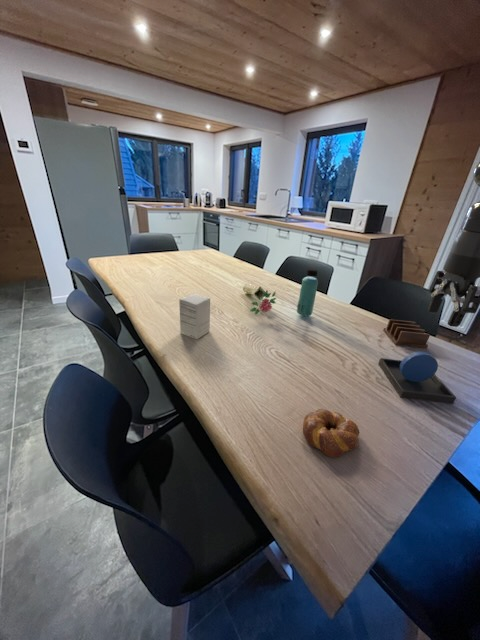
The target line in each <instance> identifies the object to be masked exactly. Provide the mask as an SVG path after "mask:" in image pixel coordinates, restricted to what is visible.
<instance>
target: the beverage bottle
mask: <svg viewBox="0 0 480 640" xmlns="http://www.w3.org/2000/svg"><path fill="white" fill-rule="evenodd" d="M305 275H307V276H305V277H303V278H302V280H301V285H300V286H301V287H300V289H299V290H300V291H299V298H298V302H297V306H296V307H297V308H296V313H297V314H298V315H300V316H303V317H310V316H312V315H313V312H314V310H313V309H314V307H315V301H316V295H317V290H318V286H319V285H318V284H319V280H318V279H317V278H316V277H317V276H318V270H317V269H315V268H307V269H306V273H305Z"/></svg>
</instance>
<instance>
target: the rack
mask: <svg viewBox="0 0 480 640" xmlns="http://www.w3.org/2000/svg"><path fill="white" fill-rule="evenodd" d="M383 332H384V334H386V336H387V337H388V338H389V339H390V340H391V342H392V343H393V344H394V345H395V346H404V347H412V348H422V349H428V347H429V345H428V344H427V343H428V341H429V338H430V336H431V334H430V333H426V330H425V329H423V328H421V326H420V325H417V322H416V321H410V320H401V319H391V318H390V319H389V320H388V322H387V325H386V327H384V328H383Z"/></svg>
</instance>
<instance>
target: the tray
mask: <svg viewBox="0 0 480 640" xmlns="http://www.w3.org/2000/svg"><path fill="white" fill-rule="evenodd" d="M401 361H402V360H401V359H400V360H399V359H391V358H382V357H380V358H379V360H378V365H379V367H380V369H381V370H382V372H383V373H384V375H385V376H386V378H387V379H388V381H389V383H390V384H391V385H392V387H393V388H394V390H395V392H396V393H397V394H398V396H399V397H400V398H402V399H410V400H419V401H426V402H434V403H435V402H436V403H443V404H451V405H453V404H454V403H455V401H456V400H457V396H456V395H455V394H454V393H453V392H452V391H451V390H450V389H449V388H448V387H447V386H446V385H445V384H444V383H443V382H442V380H441V379H440V378H439V376H437V375H436V373H435V374H434V375H433V376H432V377H431V378H429V379H427V380H425V381H421V382H412V381H409V380H407V379H405V378H404V376H403V375H402V374H401V372H400V363H401Z"/></svg>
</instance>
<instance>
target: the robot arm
mask: <svg viewBox="0 0 480 640" xmlns="http://www.w3.org/2000/svg"><path fill="white" fill-rule="evenodd" d="M473 181H474V183H475V184H476V185H477V186H479V187H480V161H479V162H478V163H477V165H476V167H475V168H474V171H473ZM442 269H443V270H437V271H436V272H435V275H434V277H433V279H432V281H431V283H430V286H429V288H428V293H430V294H431V295H430V296H431V300H430V302H429V304H428V308H427V311H428V312H430V313H437V312H439V310H440V307H441V305H442V303H443V301H444V300H443V298H445V297H446V296H447V295H448V296H449V297H450V298H451V302H452V303H453V309H454V310H453V311H452V313H451V314H450V317H449V319H448V321H447V325H448V326H450V327H452V328H453V327H455V328H457V327H459V326H461V323H462V322H463V320H464V318H465V317H466V316H465V315H466V314H476V313H477V311H478V310H479V309H478V308H479V306H480V285H479V286H478V285H476V281H477V279H479V278H480V201H478V202H475V203H473V204H472V205H471V206H470V207H469V209H468V211H467V213H466V215H465V217H464V221H463V223H462V225H461V228H460V230H459V232H458V233H457V236H456V237H455V238H454V241H453V244H452V245H451V248H450V250H449V253H448V255H447V258H446V261H445V262H444V265H443V268H442ZM471 303H472V304H471ZM461 304H462V305H461ZM470 305H471V307H470Z"/></svg>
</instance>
